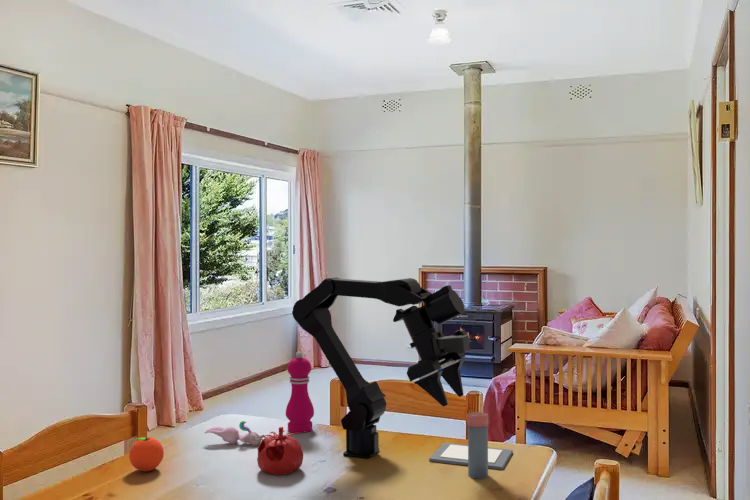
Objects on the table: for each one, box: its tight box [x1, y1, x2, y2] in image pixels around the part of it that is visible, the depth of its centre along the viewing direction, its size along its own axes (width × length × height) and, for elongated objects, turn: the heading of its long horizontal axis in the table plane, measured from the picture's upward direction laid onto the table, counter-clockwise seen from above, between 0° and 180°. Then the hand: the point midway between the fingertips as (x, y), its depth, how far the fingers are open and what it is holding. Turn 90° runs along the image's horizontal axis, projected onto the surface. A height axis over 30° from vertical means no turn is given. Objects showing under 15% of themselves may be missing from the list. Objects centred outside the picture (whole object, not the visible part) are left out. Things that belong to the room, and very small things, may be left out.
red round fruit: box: [256, 426, 304, 476], centre depth 143 cm, size 10×10×9 cm
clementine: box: [129, 436, 164, 472], centre depth 144 cm, size 8×7×7 cm
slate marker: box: [466, 411, 489, 480], centre depth 139 cm, size 4×4×12 cm
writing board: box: [428, 442, 513, 471], centre depth 151 cm, size 16×12×1 cm
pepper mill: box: [285, 351, 315, 434], centre depth 173 cm, size 7×7×20 cm
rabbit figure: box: [204, 420, 267, 447], centre depth 162 cm, size 6×6×15 cm
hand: (453, 400), depth 143 cm, fingers open, 9 cm apart
